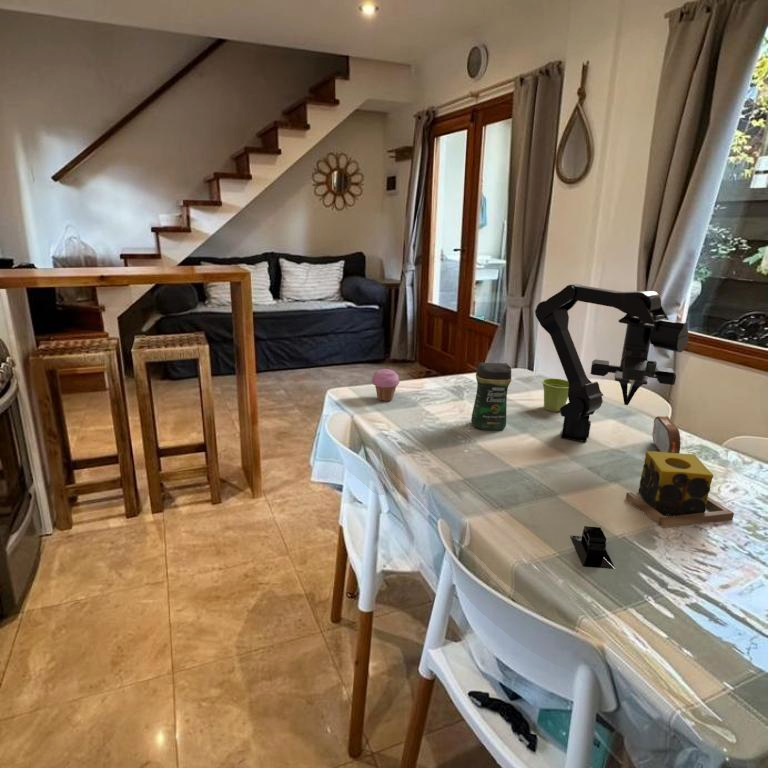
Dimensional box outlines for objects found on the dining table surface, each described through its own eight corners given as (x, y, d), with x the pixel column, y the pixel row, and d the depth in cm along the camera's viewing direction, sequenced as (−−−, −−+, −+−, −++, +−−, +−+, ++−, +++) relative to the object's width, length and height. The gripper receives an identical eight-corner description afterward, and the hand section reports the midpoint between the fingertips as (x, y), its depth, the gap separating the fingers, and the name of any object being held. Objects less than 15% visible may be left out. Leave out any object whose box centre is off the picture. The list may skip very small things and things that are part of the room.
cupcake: (398, 404, 166) (399, 373, 163) (370, 403, 166) (371, 372, 163) (398, 395, 175) (399, 366, 172) (371, 394, 175) (372, 365, 172)
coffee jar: (474, 431, 147) (480, 366, 142) (468, 420, 155) (474, 359, 149) (509, 431, 148) (516, 367, 142) (501, 421, 156) (507, 359, 150)
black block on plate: (563, 533, 101) (566, 512, 100) (602, 536, 101) (606, 515, 99) (579, 574, 90) (583, 551, 88) (624, 578, 89) (629, 555, 88)
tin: (678, 464, 131) (685, 433, 129) (664, 463, 132) (671, 431, 129) (660, 440, 145) (666, 412, 143) (648, 439, 146) (654, 410, 143)
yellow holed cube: (685, 495, 116) (695, 453, 113) (705, 520, 107) (716, 475, 104) (636, 490, 118) (645, 449, 115) (652, 514, 108) (661, 470, 105)
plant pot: (573, 407, 169) (576, 381, 166) (565, 416, 161) (569, 389, 158) (543, 401, 173) (547, 376, 171) (534, 409, 166) (538, 383, 163)
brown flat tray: (625, 498, 114) (626, 492, 113) (690, 492, 117) (691, 486, 117) (662, 527, 103) (664, 520, 103) (732, 519, 107) (734, 512, 107)
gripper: (595, 346, 124) (585, 408, 129) (684, 355, 118) (671, 421, 123) (595, 337, 134) (586, 395, 139) (678, 345, 128) (666, 406, 133)
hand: (626, 404), depth 133 cm, fingers closed
